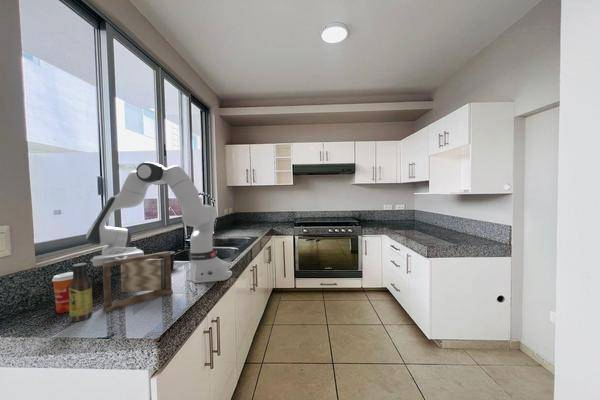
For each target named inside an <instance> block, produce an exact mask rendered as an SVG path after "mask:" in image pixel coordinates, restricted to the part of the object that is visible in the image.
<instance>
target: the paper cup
mask: <svg viewBox="0 0 600 400" xmlns="http://www.w3.org/2000/svg"><path fill="white" fill-rule="evenodd" d="M72 279H73V271H68V272H64V273H63V272H62V273H58V274H56V275H54V276H53V277H52V279H51V281H52V283H53V292H54V300H55V309H56V310H55V311H56V313H57V314H65V313H64V312H66V313H68V312H69V284H70V282H71V281H72Z"/></svg>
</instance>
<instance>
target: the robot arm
mask: <svg viewBox="0 0 600 400" xmlns="http://www.w3.org/2000/svg"><path fill="white" fill-rule="evenodd" d="M151 185H154V186H156V185H157V186H165V185H168V187H169V189H171V191H172V193H173V195H174V196H175V198H176V199H177V201H178V203H179V207H180V208H181V212H182V213H181V220H182V222H183V223H184V225H185V226H187V227H193V229H192V233H191V235H190V238H189V243H190V244H189V245H190V252H189V262H190V266H189V267H190V268H189V274H188V277H187V279H188V281H189V282H193V284H199V283H210V282H212V283H213V282H219V281H220V282H221V281H226V280H228V279H230V278H231V277H232V276H233V271H232V270H229V267H228V265H227V262H225V261H224V260H222V259H220V258H219V257H218V256H217V253H218V251H217V250H214V248H213V236H214V235H213V234H214V227H215V223H216V222H215V221H216V218H217V217H218V211H217V208H215V207H214V206H212V205H210V204H202V201H201V199H200V196H199V194H200V193H199V190H198V189H197V187H196V186H195V184H194V183H193V181H192V179H191V178H190V176H189V175H188V173H187V172H186V171H185V170H184V169H183V168H182V167H180V166H179V165H172V166H169V167H167V166H165V165H162V164H159V163H156V162H152V161H151V162H150V161H145V162H142V163H139V165H137V167H136V169H135V170H133V171H130V172H129V173H128V175H127V177H126V179H125V180H124V181H123V185H122V188H121V189H120V191H119V192H118V193H117V194H116V195H112V196H111V197H109V199H108V200H107V201H106V202H105V205H103V207H102V209H101V210H100V212H99V214H98V215H97V217H96V219H95V220H94V222H93V223H92V225H91V226H90V227H89V228H88V231H87V232H86V235H85V240H86V241H87V242H88V243H89V244H90V245H92V246H93V245H94V246H97V245H98V246H101V245H103V248H102V250H101V254H100V255H99V254H98V255H95V256H93V257H92V258H90V262H92V267H100V266H101V267H102V266H103V262H107V261H113V260H119V259H125V258H131V257H137V256H142V255H145V253H144V252H145V251H144V250H142V249H139V248H137V247H136V246H132V247H131V246H130V244H131V242H132V233H131V232H130V230H129V229H128V228H123V227H116V226H109V225H108V226H107V225H106V224H107V221H108V220H109V218H110V216H111V215H112V214H113V212H115V211H118V210H120V209H129V208H134V207H137V206H139V205H141V204H142V203H143V201H144V199H145V197H146V194H147V191H148V189H149V187H150V186H151ZM118 265H120V264H118ZM118 265H117V266H118Z"/></svg>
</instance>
